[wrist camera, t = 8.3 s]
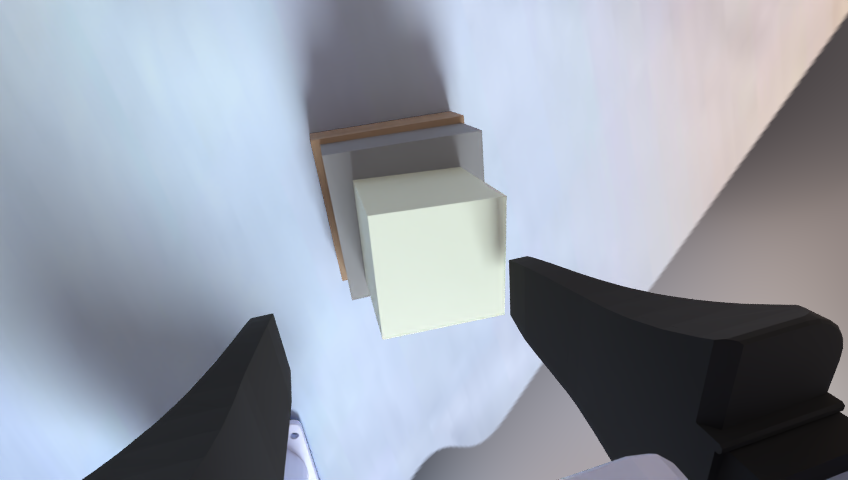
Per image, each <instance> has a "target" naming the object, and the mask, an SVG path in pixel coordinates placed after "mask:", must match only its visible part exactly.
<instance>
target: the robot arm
mask: <svg viewBox="0 0 848 480" xmlns="http://www.w3.org/2000/svg"><path fill="white" fill-rule="evenodd" d="M509 275H510V315H511V317H512V318H513V320H514V322H515V324H516V325H517V327H518V329H519V331H520V332H521V334H522V335H523V337H524V339H525V340H526V342H527V343H528V344H529V345H530V347H531V348H532V349H533V351H534V352H535V353H536V354H537V356H538V357H539V358H540V359H541V361H542V362H543V363H544V364H545V365H546V367H547V368H548V369H549V370H550V372H551V373H552V374H553V375H554V376H555V378H556V379H557V380H558V382H559V383H560V384H561V385H562V387H563V388H564V389H565V390H566V391H567V393H568V394H569V395H570V397H571V398H572V400H573V401H574V402H575V404H576V405H577V407H578V408H579V409H580V411H581V413H582V414H583V416H584V417H585V419H586V420H587V422H588V424H589V425H590V427H591V428H592V430H593V431H594V433H595V434H596V436H597V438H598V439H599V441H600V443H601V444H602V446H603V447H604V449H605V451H606V453H607V454H608V456H609V457H610V459H611V462H608V463H605V464H602V465H599V466H597V467H594V468H591V469H588V470H585V471H582V472H579V473H576V474H573V475H570V476H567V477H564V478H561V479H558V480H848V417H847V416H845V415H843V414H842V413H841V412H840V411H843V409H844V407H845V405H844V403H843V402H842V401H841V400H839V399H838V398H836V397H834V396H833V395H831V394H830V393H828V392H827V391H828V389H829V386H830V383H831V381H832V378H833V375H834V373H835V371H836V368H837V365H838V363H839V360H840V357H841V353H842V349H843V337H842V334H841V332H840V330H839V327H838V325H836V324H835V323H833V322H832V321H831V320H829V319H827V318H824V317H822V316H820V315H818V314H816V313H814V312H812V311H810V310H808V309H806V308H804V307H801V306H798V305H768V304H767V305H766V304H738V303H724V302H712V301H702V300H693V299H686V298H679V297H673V296H666V295H661V294H654V293H650V292H646V291H641V290H636V289H632V288H628V287H624V286H620V285H616V284H613V283H609V282H606V281H602V280H599V279H596V278H592V277H589V276H586V275H583V274H580V273H577V272H574V271H571V270H569V269H566V268H563V267H560V266H557V265H554V264H551V263H548V262H545V261H542V260H539V259H536V258H532V257H528V256H526V257H522V258H517V259H513V260H509ZM291 403H292V399H291V371H290V367H289V364H288V361H287V357H286V354H285V351H284V348H283V344H282V341H281V338H280V334H279V331H278V328H277V325H276V321H275V318H274V315H273V314H268V315H264V316H259V317H255V318H251V319H250V320H249V321H248V322H247V323H246V325H245V326H244V327H243V328H242V330H241V331H240V332H239V334H238V335H237V336H236V337H235V339H234V340H233V341H232V342H231V344H230V345H229V346H228V347H227V349H226V350H225V351H224V352H223V354H222V355H221V356H220V357H219V358H218V360H217V361H216V362H215V363H214V364H213V366H212V367H211V368H210V369H209V370H208V371H207V372H206V373H205V374H204V376H203V377H202V378H201V379H200V380H199V381H198V382H197V383H196V384H195V385H194V387H193V388H192V389H191V390H190V391H189V392H188V393H187V394H186V395H185V396H184V397H183V398H182V399H181V400H180V401H179V402H178V403H177V404H176V405H175V406H174V407H173V408H171V409H170V410H169V411H168V412H167V413H166V414H165V415H164V416H163V417H162V418H161V419H160V420H158V421H157V422H156V423H155V424H154V425H153V426H151V427H150V428H149V429H148V430H147V431H145V432H144V433H143V434H142V435H140V436H139V437H138V438H137V439H135V440H134V441H133V442H132V443H131V444H129V445H128V446H127V447H126V448H124V449H123V450H122V451H121V452H119V453H118V454H117V455H116V456H114V457H113V458H112V459H110V460H109V461H107V462H106V463H105V464H103V465H102V466H101V467H99V468H98V469H96V470H95V471H94V472H92V473H91V474H89V475H88V476H87V477H85V478H84V479H82V480H319V478H318V475H317V472H316V469H315V465H314V462H313V459H312V456H311V453H310V450H309V447H308V444H307V441H306V438H305V435H304V432H303V428H302V425H301V423H300V421H298V420H290V414H291ZM292 433H297V434H292Z"/></svg>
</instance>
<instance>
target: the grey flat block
mask: <svg viewBox="0 0 848 480" xmlns="http://www.w3.org/2000/svg"><path fill="white" fill-rule="evenodd" d="M320 147H321V153H322V158H323V163H324V168H325V173H326V177H327V182H328V187H329V192H330V197H331V201H332V206H333V211H334V216H335V221H336V225H337V230H338V235H339V240H340V245H341V249H342V254H343V259H344V264H345V268H346V273H347V278H348V283H349V288H350V292H351V297H352V300H355V299H360V298H364V297H369V296H370V293H369V289H368V285H367V282H366V276H365V269H364V261H363V254H362V246H361V239H360V231H359V224H358V216H357V209H356V201H355V194H354V186H353V180H359V179H367V178H375V177H383V176H391V175H399V174H407V173H415V172H423V171H431V170H439V169H447V168H455V167H461V168H463V169H465V170H466V171H468V172H469V173H471V174H472V175H474V176H476V177H477V178H479V179H480V180H482V181H483V182H484V166H483V145H482V130H479V129H477V128H474V127H471V126H469V125H466V124H463V123H458V124H451V125H444V126H438V127H431V128H425V129H418V130H412V131H405V132H399V133H392V134H386V135H379V136H373V137H366V138H360V139H353V140H346V141H340V142H333V143H327V144H320Z"/></svg>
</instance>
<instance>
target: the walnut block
mask: <svg viewBox="0 0 848 480" xmlns="http://www.w3.org/2000/svg"><path fill="white" fill-rule="evenodd" d="M458 123H463V124H464V116H463V115H460V114H457V113H454V112H451V111H447V112H441V113H435V114H429V115H423V116H416V117H410V118H404V119H398V120H391V121H385V122H379V123H373V124H366V125H360V126H354V127H348V128H342V129H335V130H329V131H323V132H317V133H310V142H311V147H312V151H313V155H314V160H315V164H316V168H317V173H318V177H319V181H320V186H321V190H322V194H323V199H324V203H325V207H326V212H327V216H328V220H329V225H330V229H331V233H332V238H333V242H334V246H335V251H336V255H337V259H338V264H339V268H340V272H341V277H342V281H344V280H348V278H347V273H346V268H345V264H344V259H343V254H342V249H341V245H340V240H339V235H338V230H337V225H336V221H335V216H334V211H333V206H332V201H331V197H330V192H329V187H328V182H327V177H326V173H325V168H324V163H323V158H322V153H321V147H320V144H327V143H333V142H340V141H346V140H353V139H360V138H366V137H373V136H379V135H386V134H392V133H399V132H405V131H412V130H418V129H425V128H431V127H438V126H444V125H451V124H458Z"/></svg>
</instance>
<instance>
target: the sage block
mask: <svg viewBox="0 0 848 480" xmlns="http://www.w3.org/2000/svg"><path fill="white" fill-rule="evenodd" d="M353 186H354V194H355V201H356V209H357V216H358V224H359V231H360V239H361V246H362V254H363V261H364V269H365V276H366V282H367V285H368V289H369V293H370V296H371V300H372V303H373V307H374V310H375V314H376V318H377V321H378V325H379V328H380V332H381V335H382V339H383V340H384V339H389V338H394V337H399V336H404V335H408V334H413V333H418V332H423V331H428V330H432V329H437V328H442V327H447V326H452V325H457V324H461V323H466V322H471V321H476V320H481V319H485V318H490V317H495V316H500V315H505V259H506V201H507V196H506V195H504V194H502V193H501V192H499V191H498V190H496V189H495V188H493V187H491V186H490V185H488V184H487V183H485V182H483V181H482V180H480V179H479V178H477V177H476V176H474V175H472V174H471V173H469V172H468V171H466V170H465V169H463V168H461V167H455V168H447V169H439V170H431V171H423V172H415V173H407V174H399V175H391V176H383V177H375V178H367V179H359V180H353Z"/></svg>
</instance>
